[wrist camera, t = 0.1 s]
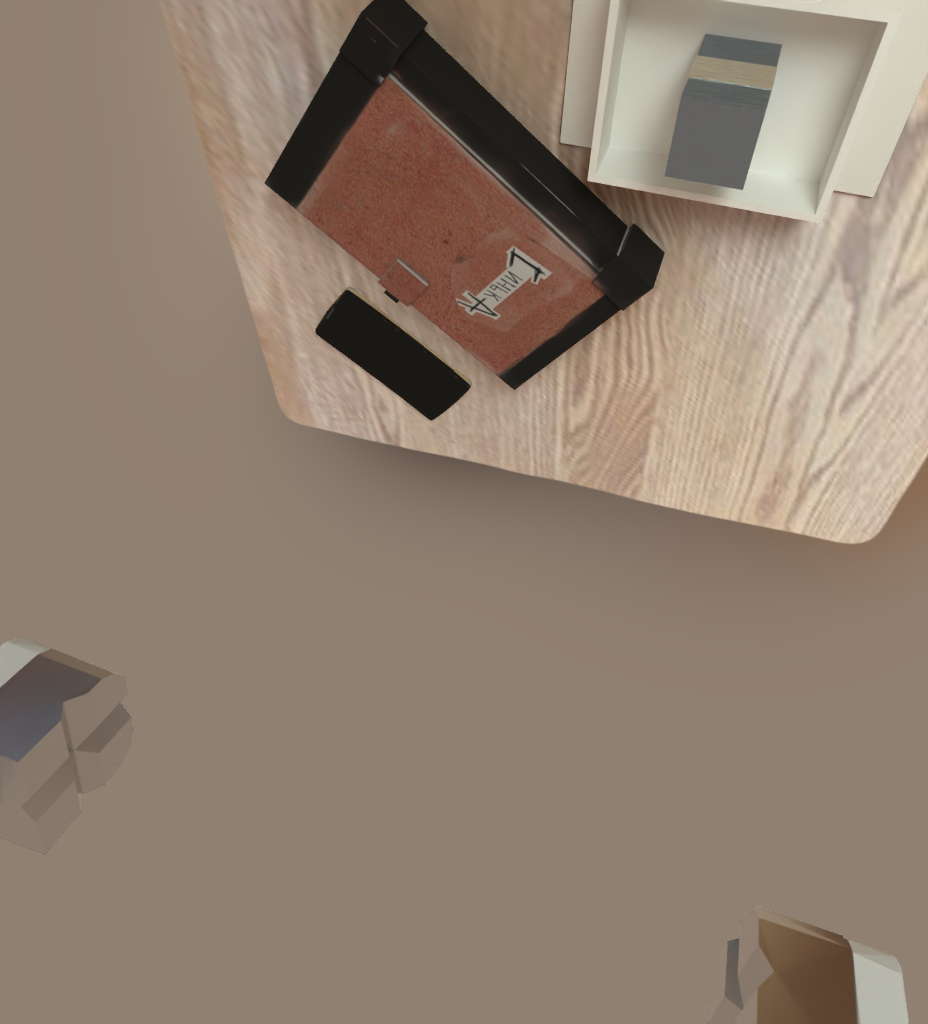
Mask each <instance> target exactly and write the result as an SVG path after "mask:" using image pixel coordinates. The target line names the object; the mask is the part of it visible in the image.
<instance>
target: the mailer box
mask: <svg viewBox="0 0 928 1024" xmlns="http://www.w3.org/2000/svg"><path fill="white" fill-rule="evenodd" d="M705 34H711V35H718V36H725V37H732V38H739V39H746V40H754V41H761V42H768V43H775V44H782V48H781V52H780V56H779V60H778V64H777V67H778V68H777V72H776V76H775V80H774V85H773V89H772V92H771V96H770V99H769V102H768V106H767V109H766V113H765V116H764V120H763V123H762V126H761V130H760V133H759V137H758V140H757V143H756V147H755V150H754V154H753V157H752V160H751V164H750V167H749V171H748V174H747V178H746V181H745V184H744V188H743V190H739V189H734V188H728V187H722V186H717V185H711V184H705V183H700V182H694V181H689V180H683V179H677V178H672V177H666V176H665V171H666V166H667V162H668V157H669V152H670V147H671V142H672V138H673V133H674V128H675V123H676V118H677V114H678V109H679V104H680V99H681V96H682V93H683V91H684V88H685V86H686V83H687V78H688V75H689V72H690V70H691V67H692V64H693V62H694V59H695V57H696V55H697V54H698V52H699V49H700V47H701V44H702V41H703V39H704V36H705ZM927 72H928V0H574V3H573V13H572V24H571V34H570V44H569V55H568V65H567V75H566V86H565V96H564V106H563V117H562V127H561V137H560V143H564V144H570V145H576V146H582V147H587V148H592V149H591V156H590V164H589V172H588V180H587V181H591V182H596V183H601V184H607V185H612V186H618V187H623V188H629V189H634V190H640V191H645V192H651V193H656V194H662V195H667V196H673V197H678V198H684V199H689V200H695V201H700V202H706V203H711V204H716V205H722V206H727V207H733V208H738V209H744V210H749V211H755V212H760V213H766V214H771V215H777V216H782V217H788V218H793V219H799V220H804V221H810V222H815V223H821V222H822V219H823V216H824V214H825V211H826V209H827V206H828V204H829V201H830V198H831V196H832V193H833V191H840V192H846V193H852V194H857V195H863V196H869V197H874V194H875V192H876V190H877V187H878V185H879V183H880V181H881V178H882V176H883V174H884V171H885V169H886V167H887V164H888V162H889V160H890V157H891V155H892V153H893V151H894V148H895V146H896V144H897V141H898V139H899V137H900V134H901V132H902V130H903V127H904V125H905V123H906V121H907V118H908V116H909V114H910V111H911V109H912V107H913V104H914V102H915V100H916V97H917V95H918V93H919V91H920V88H921V86H922V84H923V81H924V79H925V77H926V74H927Z"/></svg>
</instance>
